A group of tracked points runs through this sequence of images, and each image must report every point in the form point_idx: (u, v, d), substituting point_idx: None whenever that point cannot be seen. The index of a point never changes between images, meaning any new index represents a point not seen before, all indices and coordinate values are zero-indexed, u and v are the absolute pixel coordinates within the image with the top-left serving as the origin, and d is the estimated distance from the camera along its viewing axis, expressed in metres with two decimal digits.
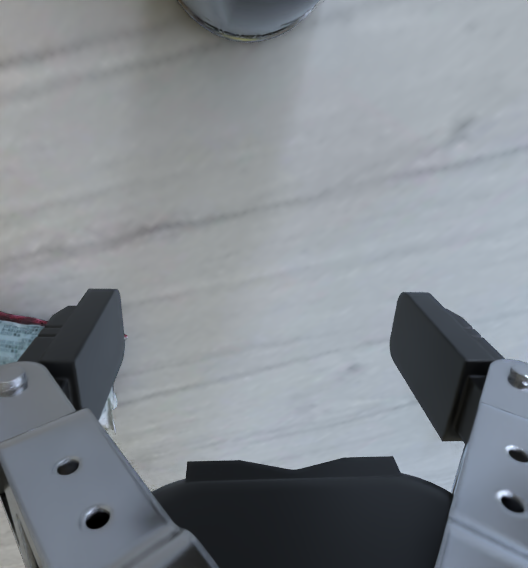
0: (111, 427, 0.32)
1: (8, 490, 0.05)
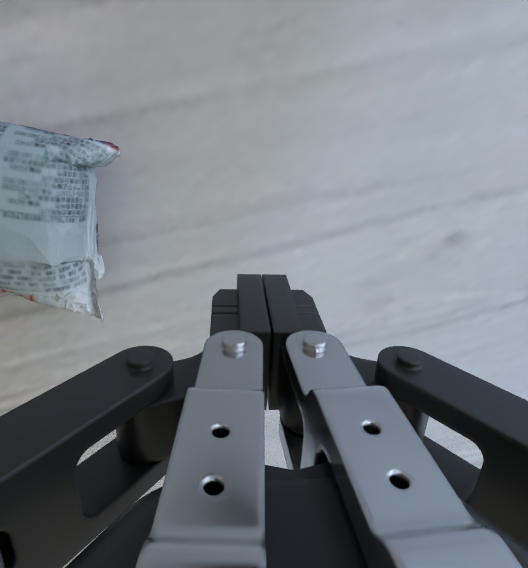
0: (96, 313, 0.21)
1: None
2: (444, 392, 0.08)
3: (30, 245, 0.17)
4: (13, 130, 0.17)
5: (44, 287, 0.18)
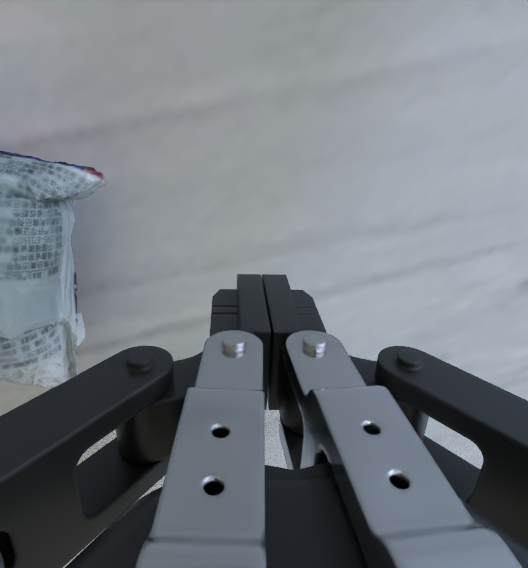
0: None
1: None
2: (444, 392, 0.08)
3: None
4: None
5: (1, 364, 0.14)
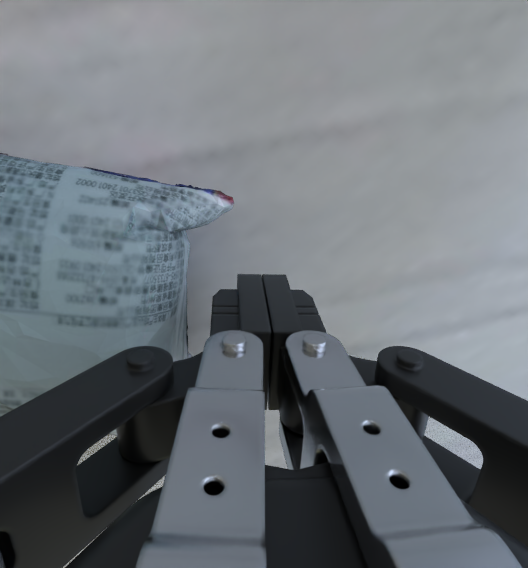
0: None
1: None
2: (444, 392, 0.08)
3: None
4: (73, 177, 0.10)
5: None
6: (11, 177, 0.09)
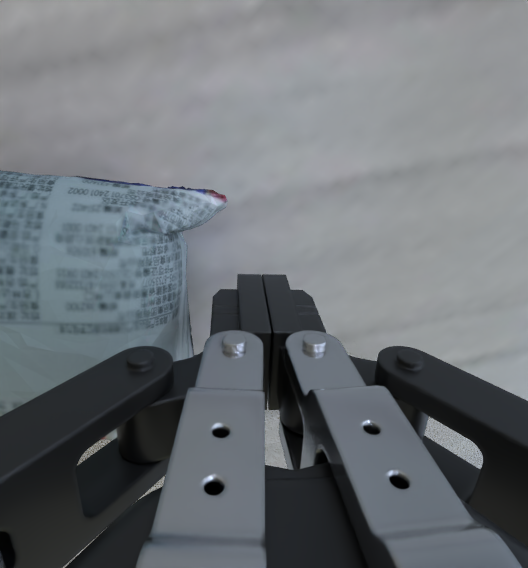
0: None
1: None
2: (444, 392, 0.08)
3: None
4: (65, 187, 0.10)
5: None
6: (4, 191, 0.10)
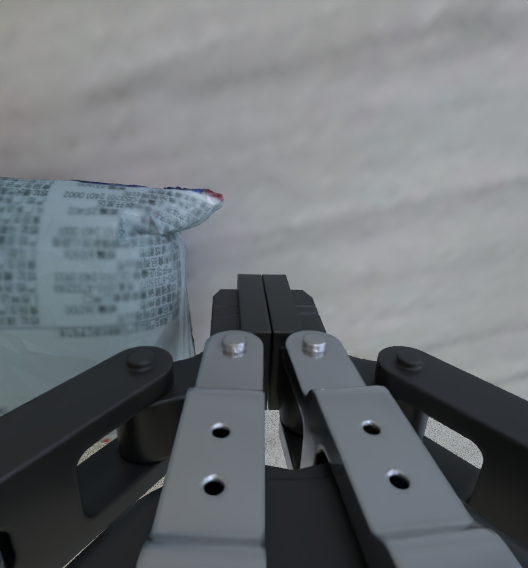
0: None
1: None
2: (444, 392, 0.08)
3: None
4: (61, 191, 0.10)
5: None
6: None
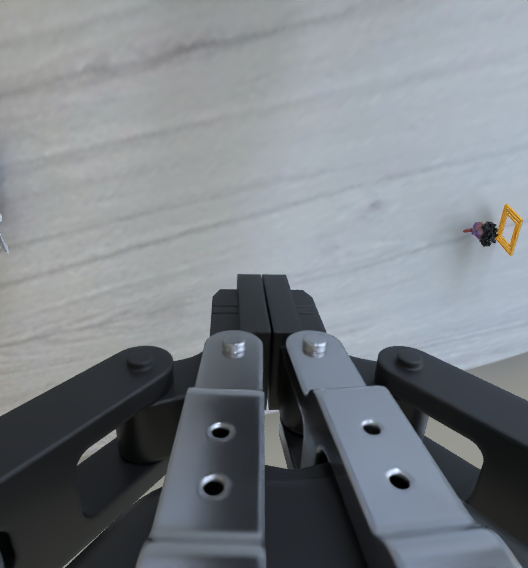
0: (3, 247, 0.33)
1: None
2: (444, 392, 0.08)
3: None
4: None
5: None
6: None
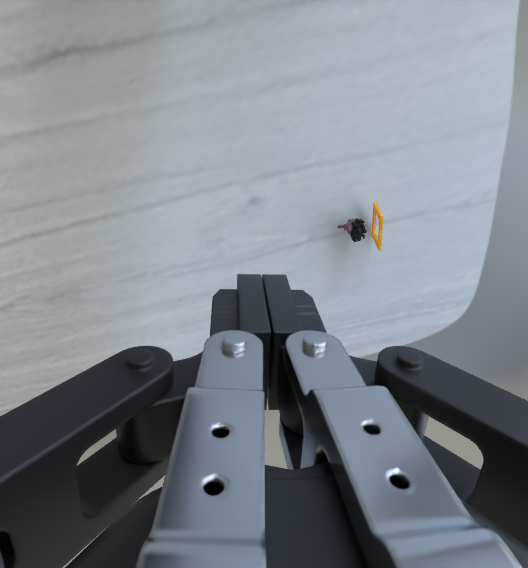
0: None
1: None
2: (444, 392, 0.08)
3: None
4: None
5: None
6: None
